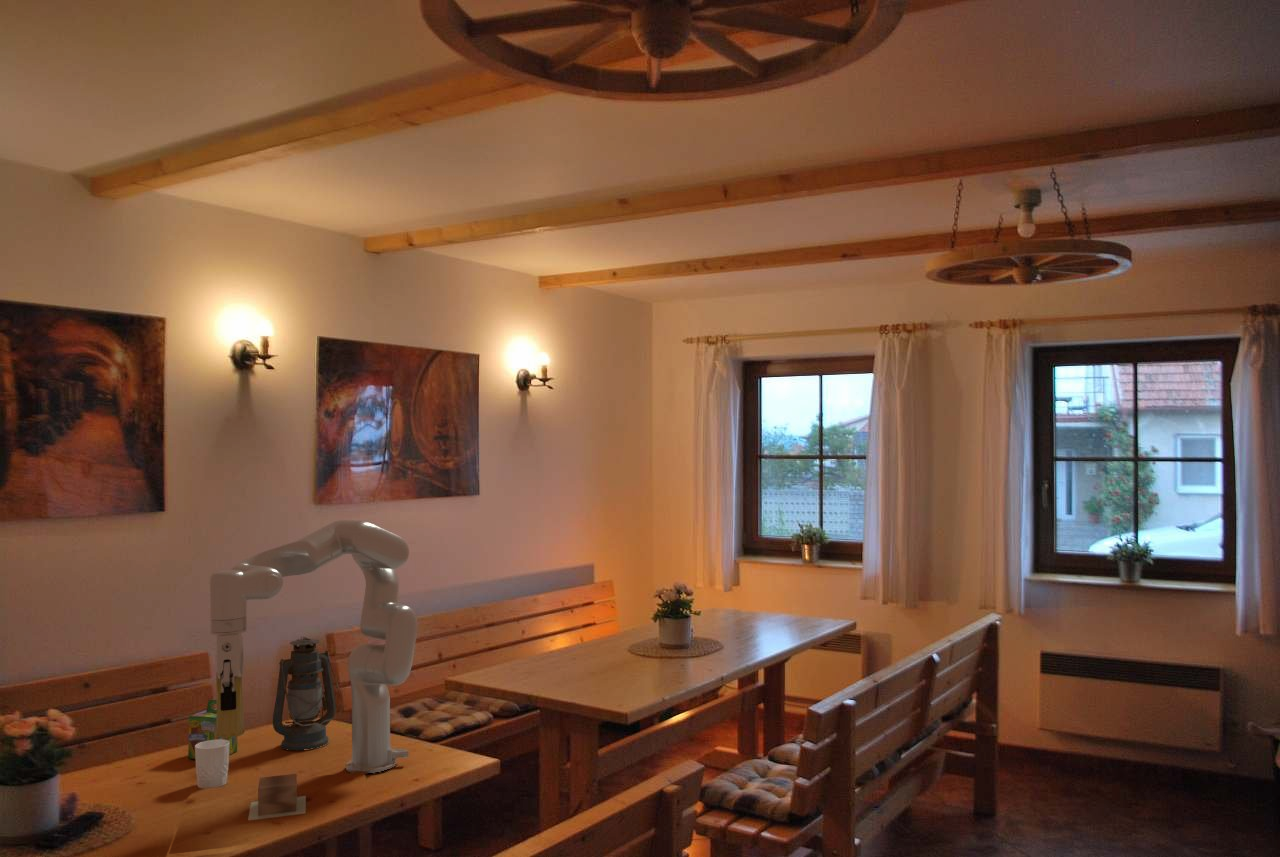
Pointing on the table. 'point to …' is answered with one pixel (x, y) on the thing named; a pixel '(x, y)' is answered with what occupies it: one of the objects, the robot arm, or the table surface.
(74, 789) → the table surface
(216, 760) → the white cup
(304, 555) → the robot arm
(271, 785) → the walnut block
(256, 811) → the baseplate
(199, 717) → the chalk box
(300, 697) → the lantern
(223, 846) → the table surface
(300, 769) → the table surface
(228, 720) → the vase
